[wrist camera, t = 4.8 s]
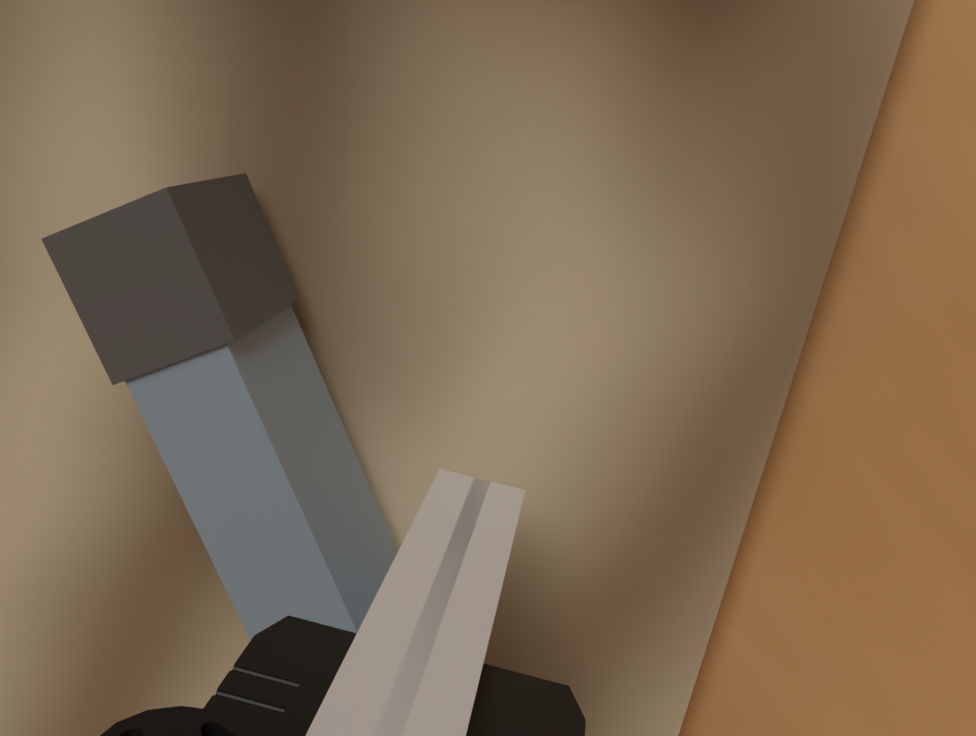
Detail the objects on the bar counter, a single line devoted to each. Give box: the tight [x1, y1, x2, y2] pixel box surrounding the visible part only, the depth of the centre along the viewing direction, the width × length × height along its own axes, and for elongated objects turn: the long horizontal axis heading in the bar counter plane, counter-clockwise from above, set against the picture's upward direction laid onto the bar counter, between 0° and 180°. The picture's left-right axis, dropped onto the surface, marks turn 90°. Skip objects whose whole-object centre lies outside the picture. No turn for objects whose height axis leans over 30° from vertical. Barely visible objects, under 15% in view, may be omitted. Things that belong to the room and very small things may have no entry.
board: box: [0, 0, 914, 736], centre depth 14 cm, size 18×24×5 cm
